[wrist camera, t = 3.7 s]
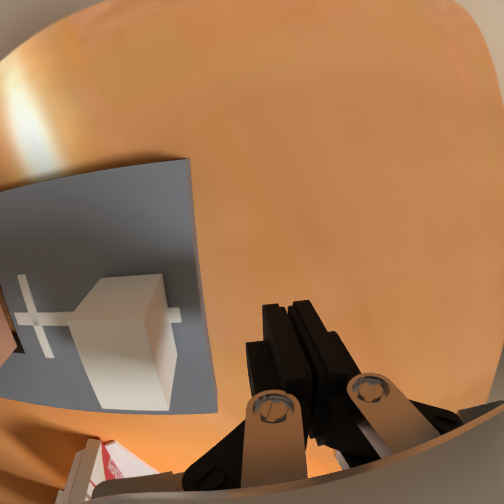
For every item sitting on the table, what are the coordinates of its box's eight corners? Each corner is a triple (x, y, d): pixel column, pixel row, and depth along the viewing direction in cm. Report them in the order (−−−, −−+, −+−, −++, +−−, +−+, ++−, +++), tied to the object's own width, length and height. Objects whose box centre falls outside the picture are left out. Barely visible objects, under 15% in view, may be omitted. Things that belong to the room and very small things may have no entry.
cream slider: (162, 273, 13) (143, 318, 10) (177, 354, 15) (168, 410, 11) (101, 277, 13) (66, 320, 9) (122, 355, 15) (102, 408, 11)
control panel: (189, 158, 14) (184, 159, 12) (217, 391, 19) (217, 414, 17) (-97, 224, 12) (-112, 230, 10) (-48, 369, 16) (-59, 381, 14)
